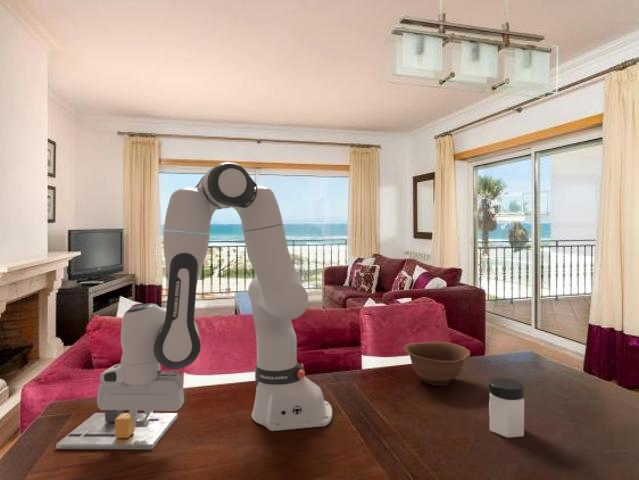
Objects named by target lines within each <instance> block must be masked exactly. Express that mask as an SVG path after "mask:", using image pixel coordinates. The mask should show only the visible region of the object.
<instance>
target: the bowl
mask: <svg viewBox="0 0 639 480" xmlns="http://www.w3.org/2000/svg"><path fill="white" fill-rule="evenodd" d="M402 348H403V351H404V352H405V353H406V354H408V355H409V357H410V360H411V361H410V362H411V365H412V368H413V370H414V371H415V373H416V374H417V375H418V376H419V377H421V378H422V381H423V382H424V383H425V382H426V384H427V383H428V385H430V384H431V386H436V385H437V386H440V387H443V386H447V385H449V384H450V383H451V381H452V380H454V379H455V378H457V377H458V376H459V375H460V374H461V373H462V370H463V369H462V368H463V364H464V363H465V361H466V360H467V359H468V358H470V357H471V350H469V349H468V348H467V347H465V346H462V345H459V344H456V343H454V342H453V343H452V342H447V341H426V342H424V341H423V342H416V343H414V342H413V343H407V344H404V346H403V347H402ZM437 386H436V387H437Z"/></svg>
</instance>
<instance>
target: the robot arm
mask: <svg viewBox="0 0 639 480" xmlns="http://www.w3.org/2000/svg"><path fill="white" fill-rule="evenodd" d="M231 208H233V210H235V211H236V212H237V214H238V217H239V219H240V222H241V228H242V234H243V239H244V242H245V249H246V253H247V258H248V261H249V263H250V264H251V266H252V269H253V271H254V274H255V278H253V279H252V280H251V281H250V284H249V286H248V290H247V293H248V297H249V300H250V303H251V304H250V305H251V311H252V319H253V323H254V324H253V325H254V329H255V336H256V337H255V338H256V365H255V367H254V380H255V381H254V383H255V386H256V390H255V397H254V398H255V399H254V403H253V409H252V412H251V418H252V420H253V421H254V422H255V423H257V424H259V425H262V426H264V427H265V428H267V430H269V431H271V432H275V431H285V430H286V431H287V430H296V429H306V428H308V429H309V428H315V427H316V428H317V427H318V428H319V427H326V426H327V425H329V424H330V423H331V421H332V420H333V407H332V406H331V404H330V403H329V402H328V401H327V400H325V397H324V395H323V391H322V389H321V387H320V386H319V385H317V383H314V382H313V381H311V379H309V378H307V377H306V376H305V375H306V371H305V366H304V364H303V362H301V364H300V362H299V361H298V360H297V359H298V358H297V357H298V356H297V348H298V347H297V346H298V345H297V342H298V341H297V333H296V331H295V329H294V326H293V323H292V320H295V319H298V318H300V317H301V316H302V315H304V314H305V312H306V310H307V308H308V306H309V295H308V292H307V290H306V288H305V287H304V286H303V284H302V283H301V280H300V278H299V275H298V272H297V271H296V270H297V269H296V268H295V266H294V263H293V261H292V257H291V253H290V251H289V248H288V243H287V237H286V233H285V227H284V221H283V217H282V214H281V210H280V207H279V204H278V201H277V198H276V195H275V193H274V192H273V191H272V189H271V188H269V187H266V186H262V185H261V186H260V185H257V183H256V182H255V181H254V179H253V178H252V177H251V176H250V174H249V172H248V171H247V170H246V169H245V168H244V167H243V166H241V165H239V164H238V163H235V162H222V163H221V162H220V163H219V164H217V165H215V166H213V167H211V168H210V169H209V170H207V172H205V174H204V175H203V176H202V177H201V178H200V180H199V181H198V183H197V185H196V186H195V187H183V188H179V189H177V190H174V192H173V193H171V195H170V197H169V201H168V205H167V208H166V212H165V217H164V219H165V220H164V225H163V234H162V235H163V241H162V243H163V245H162V246H163V254H164V260H165V268H166V272H167V273H166V275H167V285H168V286H167V294H166V295H167V297H166V307H165V308H162V307H160V306H159V305H158V304H157V303H156V304H155V303H143V304H139V305H135V306H133V307H130V308H128V309H127V310H126V311H125V312H124V313H123V317H122V319H121V325H120V326H121V327H120V345H121V348H122V354H121V358H120V363H117V364H114V365H112V366H111V367H109V368H107V369H105V370H104V371H102V373H101V374H100V375H99V380H100V382H101V383H100V384H99V385H98V389H97V394H96V398H97V399H96V404H97V408H98V409H99V410H100V411H105V410H123V411H128V413H129V415H130V416H131V418H132V419H133V421H134V427H147V426H148V425H149V417H150V416H151V414H152V413H154V411H158V412H159V411H167V412H169V411H172V412H173V411H175V412H176V411H178V410H179V409H180V408H181V407H182V406H183V404H184V402H185V394H184V388H183V387H184V376H183V375H182V373H180V372H178V371H177V370H180V369H184V368H186V367H188V366H190V365H192V364H193V363H194V362H195V361H196V360H197V359H198V357H199V355H200V352H201V347H202V346H201V339H200V333H199V332H200V331H199V330H200V329H199V326H198V324H197V322H196V321H195V311H196V310H195V309H196V300H197V298H196V296H197V285H198V281H199V277H200V274H201V272H202V268H203V266H204V263H205V260H206V257H207V253H208V250H209V243H210V234H211V221H212V218H213V215H214V213H215V212H216V211H217V210H223V209H231ZM161 366H162V367H165V368H167V369H169V370H170V369H171V371H169V370H161ZM139 411H143V413H144V414H147V415H146V417H145V418H140V416H139V414H138V413H139Z"/></svg>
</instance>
